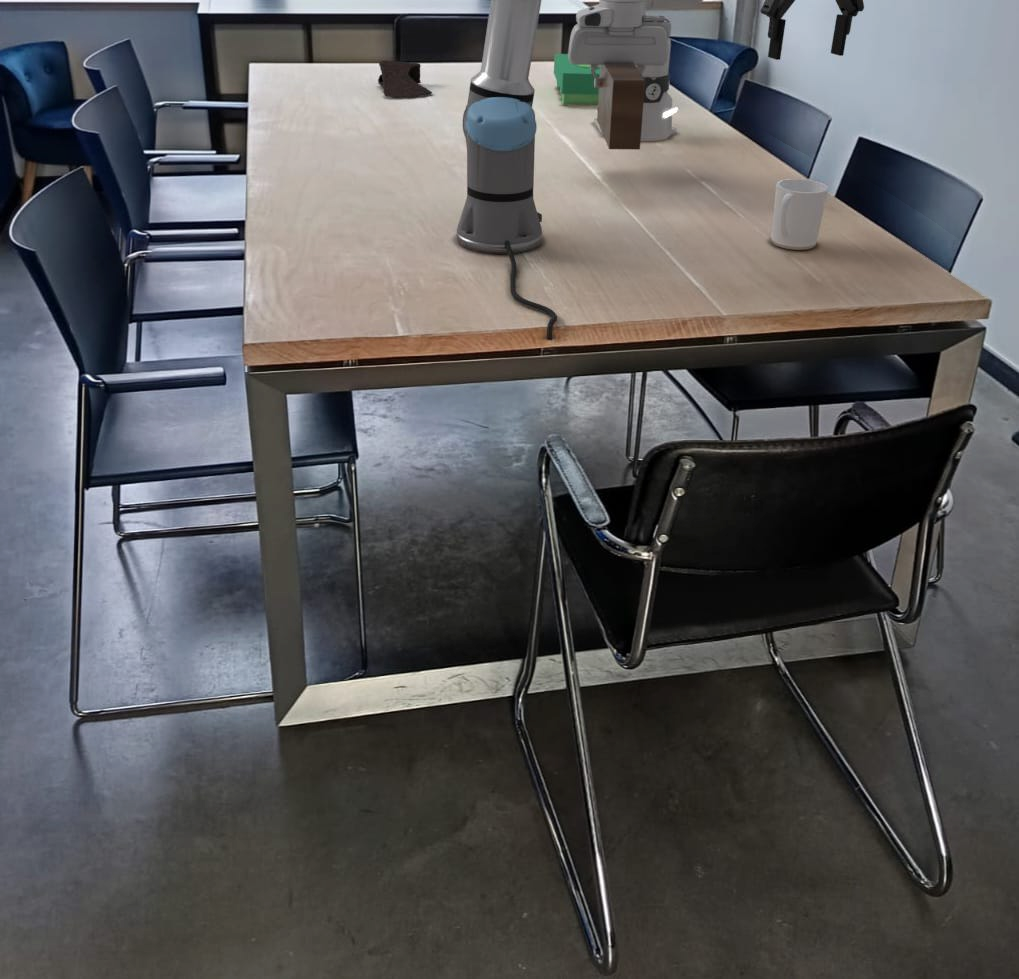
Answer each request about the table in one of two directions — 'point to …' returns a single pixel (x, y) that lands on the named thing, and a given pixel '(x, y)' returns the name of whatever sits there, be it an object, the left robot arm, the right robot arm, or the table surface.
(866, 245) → the table surface
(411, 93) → the axe head
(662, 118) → the right robot arm
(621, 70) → the box
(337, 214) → the table surface
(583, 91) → the toy tank
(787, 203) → the mug
